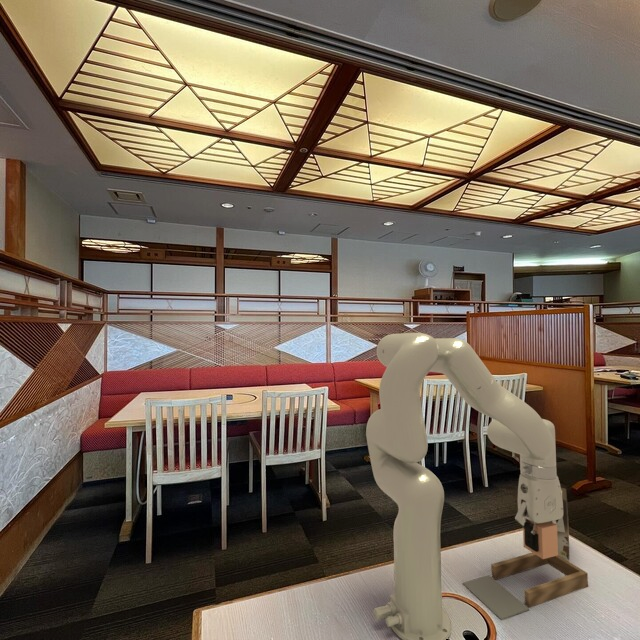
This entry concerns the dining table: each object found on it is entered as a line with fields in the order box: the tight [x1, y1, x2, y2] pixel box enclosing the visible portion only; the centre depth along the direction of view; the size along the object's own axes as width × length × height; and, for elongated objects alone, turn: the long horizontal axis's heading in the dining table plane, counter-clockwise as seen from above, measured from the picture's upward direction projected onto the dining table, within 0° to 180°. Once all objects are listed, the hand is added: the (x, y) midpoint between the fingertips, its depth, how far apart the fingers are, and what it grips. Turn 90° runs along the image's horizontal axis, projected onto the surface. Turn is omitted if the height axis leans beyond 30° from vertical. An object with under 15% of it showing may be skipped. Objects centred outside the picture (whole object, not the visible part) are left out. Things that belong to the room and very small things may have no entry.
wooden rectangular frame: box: [490, 552, 589, 609], centre depth 80 cm, size 19×10×3 cm, turn 109°
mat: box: [462, 574, 531, 621], centre depth 75 cm, size 8×11×1 cm
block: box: [522, 520, 558, 559], centre depth 81 cm, size 5×5×7 cm
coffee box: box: [557, 487, 570, 562], centre depth 92 cm, size 9×6×16 cm
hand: (540, 545), depth 81 cm, fingers closed on block, 5 cm apart
